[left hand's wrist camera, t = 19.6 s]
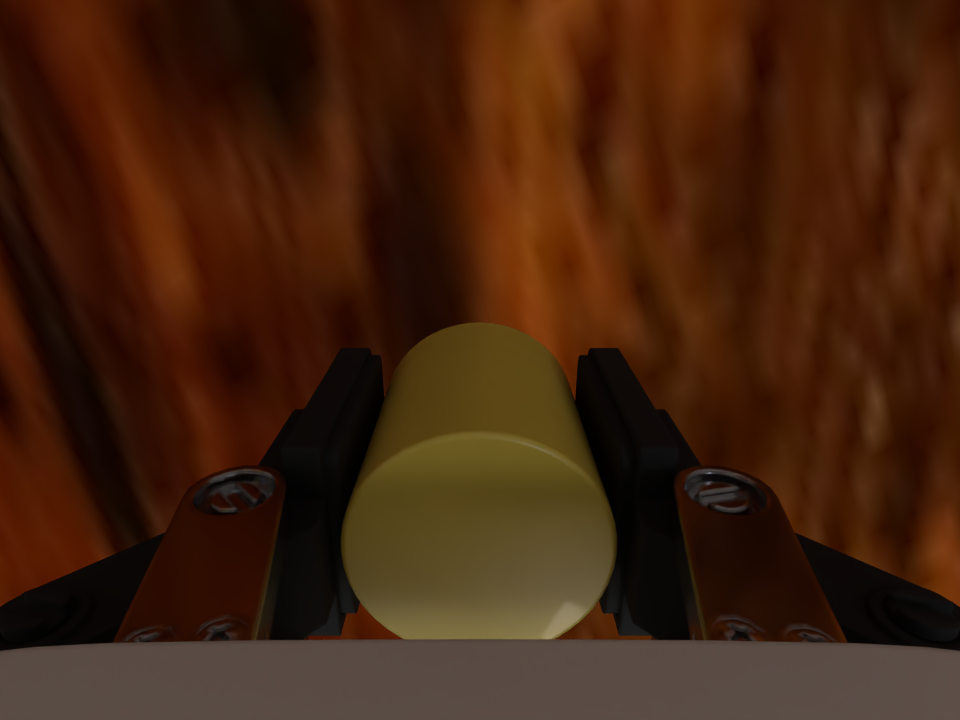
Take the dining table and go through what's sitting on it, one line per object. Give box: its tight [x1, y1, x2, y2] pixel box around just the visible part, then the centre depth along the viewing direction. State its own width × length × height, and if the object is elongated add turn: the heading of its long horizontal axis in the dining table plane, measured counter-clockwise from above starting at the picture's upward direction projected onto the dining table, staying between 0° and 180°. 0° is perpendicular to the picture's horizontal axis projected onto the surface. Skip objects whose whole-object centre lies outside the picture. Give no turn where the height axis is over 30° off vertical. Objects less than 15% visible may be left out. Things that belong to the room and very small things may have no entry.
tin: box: [340, 323, 617, 640], centre depth 10 cm, size 4×4×4 cm
